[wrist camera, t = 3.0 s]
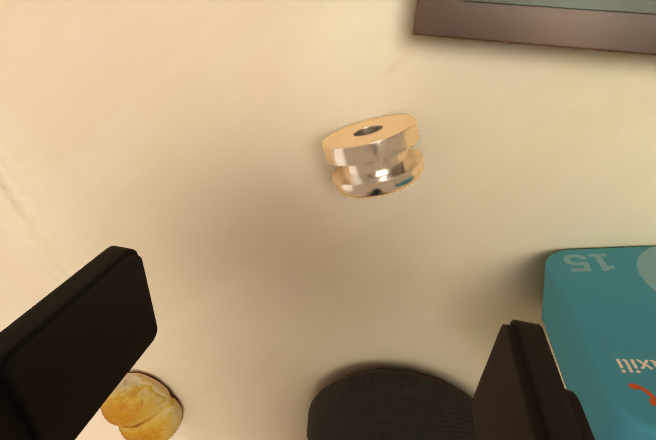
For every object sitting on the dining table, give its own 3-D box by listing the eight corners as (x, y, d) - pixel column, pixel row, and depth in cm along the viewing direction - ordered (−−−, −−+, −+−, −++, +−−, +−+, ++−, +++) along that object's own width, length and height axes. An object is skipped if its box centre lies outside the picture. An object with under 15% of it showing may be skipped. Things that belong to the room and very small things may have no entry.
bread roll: (145, 425, 46) (122, 459, 42) (101, 372, 42) (72, 404, 39) (200, 424, 43) (180, 460, 39) (158, 367, 39) (132, 401, 36)
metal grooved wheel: (417, 107, 22) (414, 134, 17) (426, 157, 23) (425, 193, 19) (333, 127, 23) (311, 155, 19) (345, 173, 24) (328, 209, 20)
